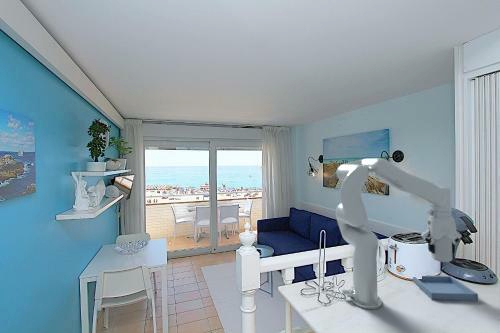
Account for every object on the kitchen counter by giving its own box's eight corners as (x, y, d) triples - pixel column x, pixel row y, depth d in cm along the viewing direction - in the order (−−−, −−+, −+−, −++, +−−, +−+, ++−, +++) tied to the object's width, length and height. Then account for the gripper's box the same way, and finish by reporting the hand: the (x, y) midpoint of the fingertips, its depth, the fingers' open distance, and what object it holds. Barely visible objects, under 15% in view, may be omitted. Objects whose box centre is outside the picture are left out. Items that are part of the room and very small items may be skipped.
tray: (431, 299, 104) (431, 292, 104) (411, 281, 120) (411, 275, 119) (477, 301, 102) (477, 294, 101) (451, 281, 117) (450, 275, 117)
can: (456, 263, 105) (455, 236, 105) (436, 262, 107) (436, 235, 106) (446, 256, 112) (445, 231, 112) (428, 256, 114) (427, 230, 114)
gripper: (424, 216, 106) (425, 255, 107) (468, 215, 104) (469, 255, 105) (415, 212, 114) (416, 249, 114) (455, 211, 112) (456, 249, 112)
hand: (441, 252), depth 110 cm, fingers closed on can, 7 cm apart
